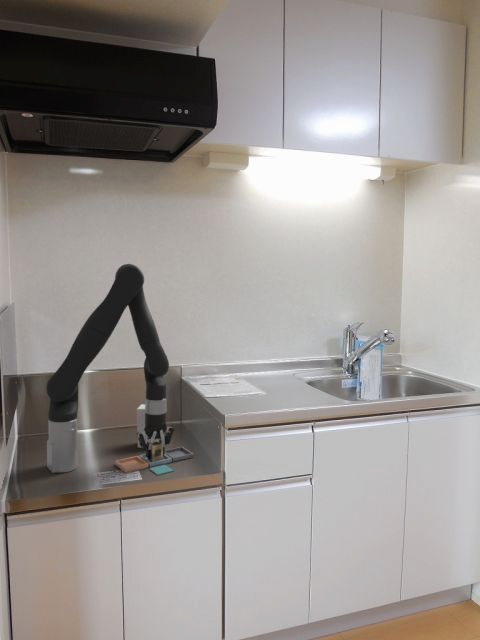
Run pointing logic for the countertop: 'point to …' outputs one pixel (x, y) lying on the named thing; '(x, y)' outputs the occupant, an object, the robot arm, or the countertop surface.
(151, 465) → the dish slate
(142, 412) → the skincare box
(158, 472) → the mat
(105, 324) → the robot arm
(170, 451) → the dish charcoal
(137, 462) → the dish terracotta
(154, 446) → the letter block
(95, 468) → the countertop surface
